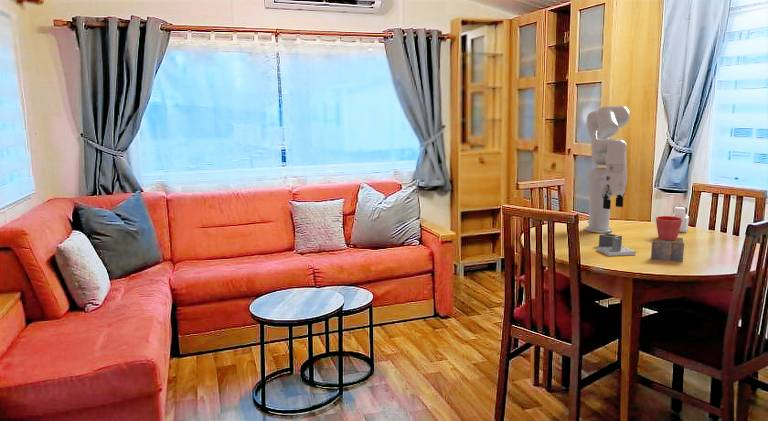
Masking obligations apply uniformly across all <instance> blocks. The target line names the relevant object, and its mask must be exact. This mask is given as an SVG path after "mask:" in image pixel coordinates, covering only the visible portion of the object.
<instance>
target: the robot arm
mask: <svg viewBox="0 0 768 421" xmlns="http://www.w3.org/2000/svg"><path fill="white" fill-rule="evenodd" d="M629 121H630V110H629V109H628V107H627V106H624V105H623V106H622V105H617V106H616V105H613V106H611V105H609V106H602V107H600V108H599V109H598V110H594V111H591V112H589V113H588V114H587V116H586V127H587V131H588V133H589V137H590V144H591V145H590V146H591V162H592V164H593V165H594V166H599V167H595V168H592V169H591V170H590V172H589V173H588V174H589V175H588V179H589V180H588V181H589V208H588V209H589V210H588V211H589V212H588V213H589V214H588V221H587V224H588V226H586V227H584V228H585V231H587V232H590V233H597V234H598V233H599V234H606V233H611V232H612V231H613V228H611V227H610V215H611V214H610V213H611V212H610V210H611V204H612V203H611V202H612V200H611V198H612V196H616V198H615V207H618V208H624V207H623V206H624V198H625V194H626V190H627V187H626V185H627V182H628V162H627V161H628V160H627V153H626V152H627V142H626V141H625V140H623V139H620V138H619V139H618V138H612V137H614V136H615V135H616V134H617V133H618V132H619V129H620V128H623V127H624V126H626V125H627V124H628V123H629Z"/></svg>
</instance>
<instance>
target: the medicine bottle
mask: <svg viewBox="0 0 768 421" xmlns="http://www.w3.org/2000/svg"><path fill="white" fill-rule="evenodd" d="M671 216H672V217H678V218H681V219H682V223H681V226H680V230H679V233H686V232H687V231H688V230H689V222H690V221H689V219H690V216H689V215H688V207H686V206H680V205H676V206H673V213H672V215H671Z"/></svg>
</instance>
